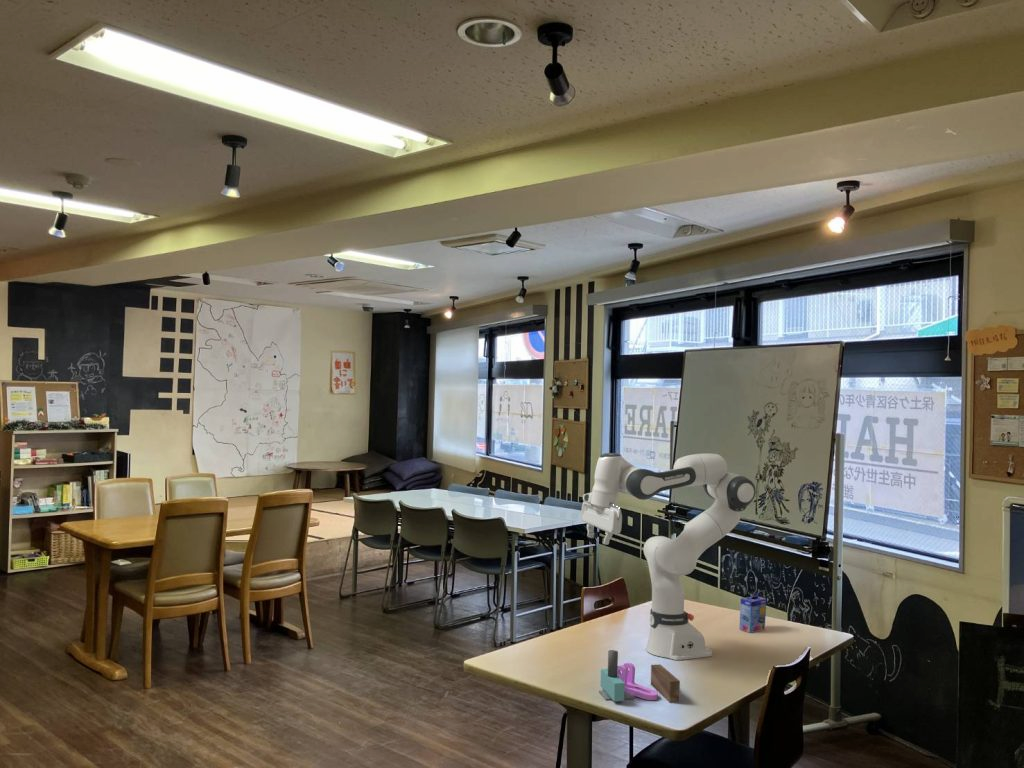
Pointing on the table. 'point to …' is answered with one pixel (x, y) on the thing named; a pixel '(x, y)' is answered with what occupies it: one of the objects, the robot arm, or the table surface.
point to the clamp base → (658, 685)
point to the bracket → (631, 686)
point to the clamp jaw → (612, 678)
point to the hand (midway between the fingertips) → (597, 540)
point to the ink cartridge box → (752, 613)
